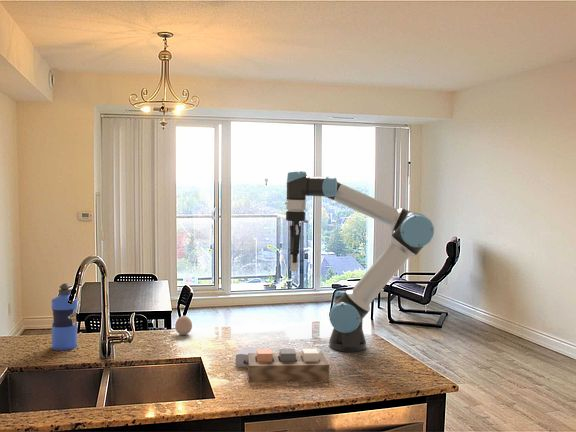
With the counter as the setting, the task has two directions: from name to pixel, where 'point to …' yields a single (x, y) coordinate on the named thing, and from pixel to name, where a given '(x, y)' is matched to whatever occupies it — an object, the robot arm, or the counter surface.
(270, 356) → the key terracotta
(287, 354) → the key graphite
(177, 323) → the egg
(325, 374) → the console
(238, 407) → the counter surface
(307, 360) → the key ivory
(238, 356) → the charger
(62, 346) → the water bottle
